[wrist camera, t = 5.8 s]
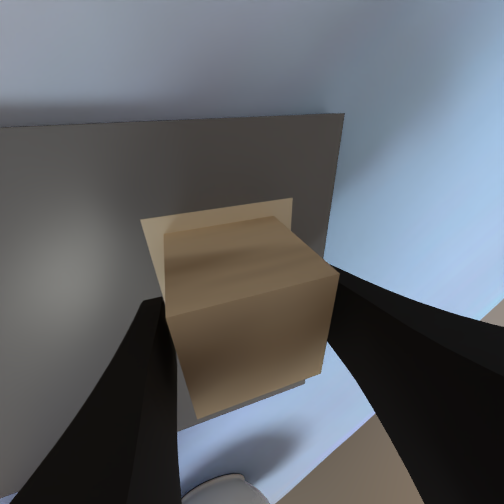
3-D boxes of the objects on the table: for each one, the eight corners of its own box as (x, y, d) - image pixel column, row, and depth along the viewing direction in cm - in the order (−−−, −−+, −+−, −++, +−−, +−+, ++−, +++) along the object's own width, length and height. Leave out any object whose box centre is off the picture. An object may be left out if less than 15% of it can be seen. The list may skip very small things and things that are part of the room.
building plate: (298, 372, 19) (304, 384, 18) (-51, 497, 13) (-66, 523, 12) (329, 113, 10) (345, 113, 9) (-782, 160, 4) (-1035, 172, 3)
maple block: (272, 296, 12) (320, 373, 9) (185, 319, 11) (197, 419, 7) (273, 215, 10) (340, 273, 6) (163, 233, 9) (165, 317, 5)
